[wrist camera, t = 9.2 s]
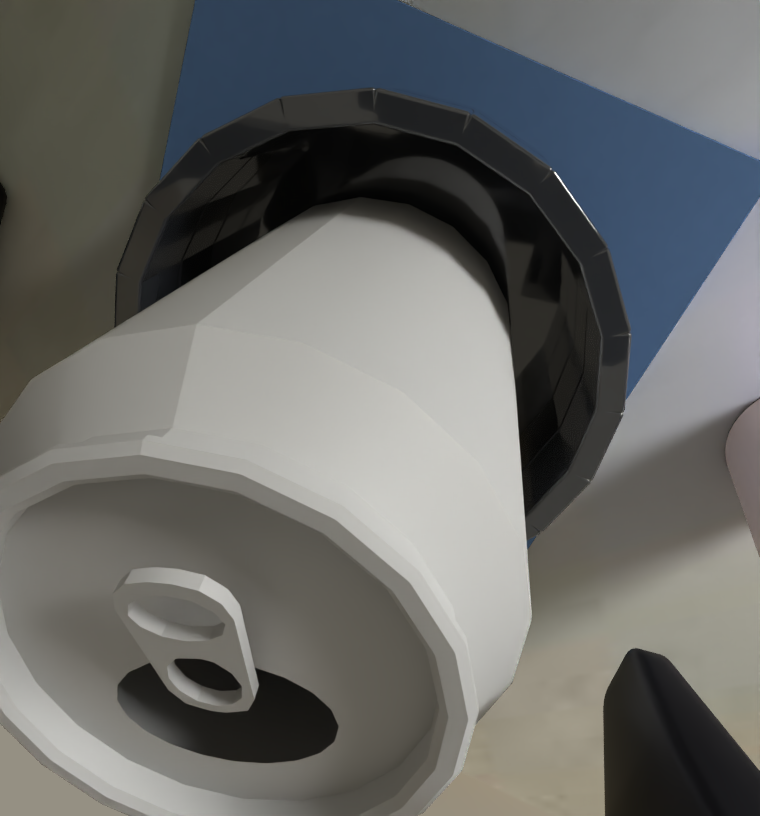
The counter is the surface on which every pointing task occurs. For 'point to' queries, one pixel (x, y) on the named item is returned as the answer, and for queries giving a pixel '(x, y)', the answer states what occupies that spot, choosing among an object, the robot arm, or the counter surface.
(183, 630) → the can
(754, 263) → the counter surface
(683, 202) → the napkin
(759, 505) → the smoothie
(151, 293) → the pan
